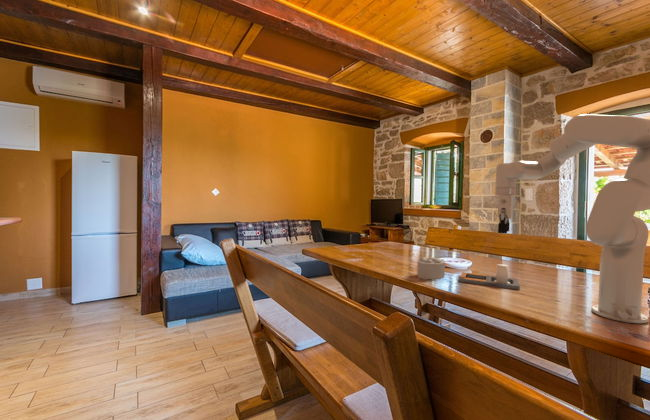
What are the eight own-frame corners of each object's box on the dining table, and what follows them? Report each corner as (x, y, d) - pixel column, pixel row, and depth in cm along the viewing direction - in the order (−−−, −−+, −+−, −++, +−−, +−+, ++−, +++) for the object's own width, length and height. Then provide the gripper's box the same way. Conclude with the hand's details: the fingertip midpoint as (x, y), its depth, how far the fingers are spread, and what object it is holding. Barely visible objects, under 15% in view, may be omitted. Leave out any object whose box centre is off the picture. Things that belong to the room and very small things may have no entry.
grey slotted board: (519, 290, 119) (519, 285, 119) (459, 281, 130) (459, 278, 130) (517, 282, 130) (517, 278, 130) (462, 275, 141) (462, 271, 141)
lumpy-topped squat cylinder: (447, 276, 139) (447, 258, 138) (432, 281, 130) (432, 261, 130) (427, 272, 147) (427, 255, 146) (411, 276, 138) (412, 258, 138)
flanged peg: (510, 286, 123) (511, 267, 123) (493, 284, 126) (494, 265, 126) (509, 283, 129) (510, 264, 128) (493, 281, 132) (494, 263, 131)
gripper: (514, 192, 119) (512, 234, 120) (517, 192, 133) (515, 231, 134) (492, 192, 123) (491, 233, 124) (497, 192, 137) (496, 229, 138)
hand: (503, 232), depth 129 cm, fingers open, 9 cm apart
